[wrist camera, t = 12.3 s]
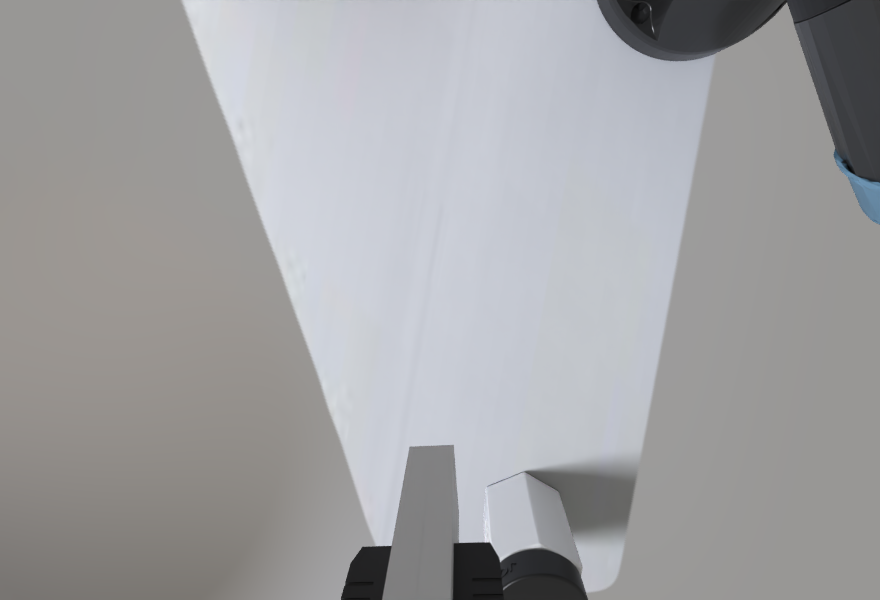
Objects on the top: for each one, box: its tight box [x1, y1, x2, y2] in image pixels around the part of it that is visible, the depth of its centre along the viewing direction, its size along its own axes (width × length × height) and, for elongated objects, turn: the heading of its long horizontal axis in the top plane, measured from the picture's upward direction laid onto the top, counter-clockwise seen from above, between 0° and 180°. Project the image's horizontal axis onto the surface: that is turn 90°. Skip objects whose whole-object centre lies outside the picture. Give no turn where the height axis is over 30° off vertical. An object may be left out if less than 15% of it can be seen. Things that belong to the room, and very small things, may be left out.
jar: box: [483, 472, 588, 600], centre depth 41 cm, size 9×8×12 cm
